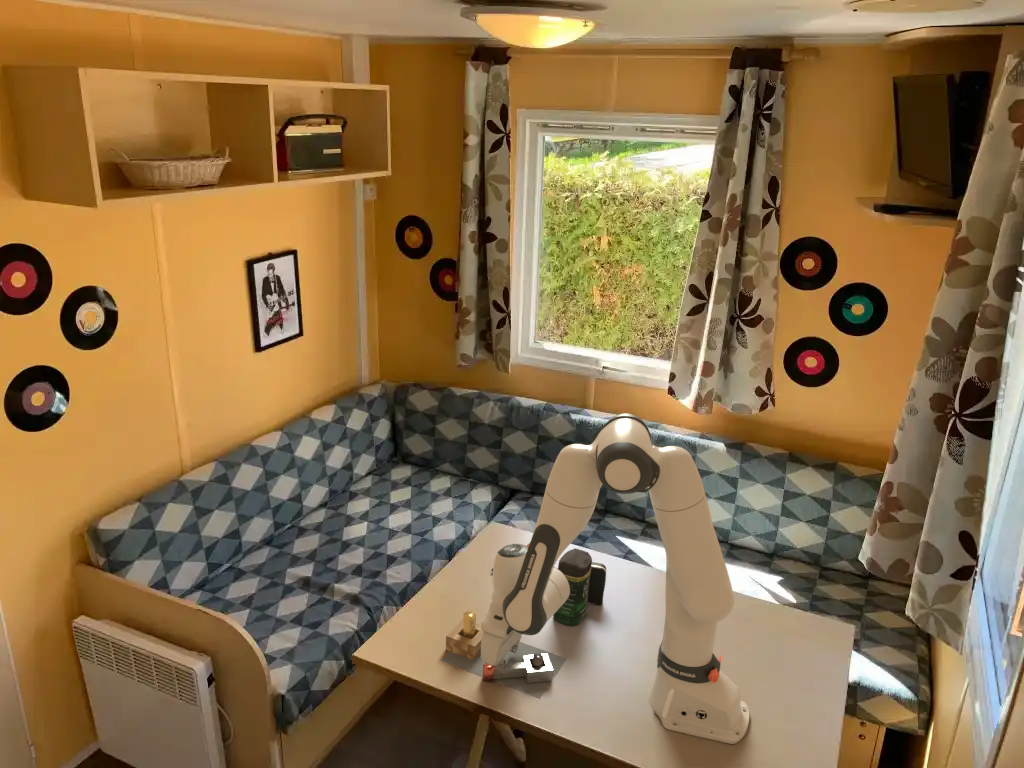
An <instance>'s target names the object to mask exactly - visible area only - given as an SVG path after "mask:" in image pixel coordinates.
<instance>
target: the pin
mask: <svg viewBox="0 0 1024 768" xmlns="http://www.w3.org/2000/svg"><path fill="white" fill-rule="evenodd" d="M476 617H477V614H476V613H475V612H474V611H470V610H469V611H468V610H467V611H465V612H464V613H463V618H462V619H463V636H464V637H467V638H470V639H473V638H474V636H475V624H477V621H476V619H477V618H476Z"/></svg>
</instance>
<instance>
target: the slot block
mask: <svg viewBox="0 0 1024 768" xmlns="http://www.w3.org/2000/svg"><path fill="white" fill-rule="evenodd" d="M482 634H483V630H481V624H478V623H476V624H475V636H474V638H473V639H470V638H467V637H464V636H463V618H462V619H461V620H460V621H458V623H457V624H456V625H455V626H454V627H452V629H451V630H450V631H449V632H448V633H447V634H446V637H445V651H448V652H449V651H450V652H453V653H455V654H458V655H461V656H463V657H466V658H469V659H472V660H474V661H475V659H476V658H477V657H478V656H479V655H480V654H481V638H482Z"/></svg>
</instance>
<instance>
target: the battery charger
mask: <svg viewBox="0 0 1024 768" xmlns="http://www.w3.org/2000/svg"><path fill="white" fill-rule="evenodd" d="M606 583H607V567H606V565H605V564H603V563H599V562H593V561H592V567H591V573H590V580H589V589H588V602H587V604H591V605H599V606H602V605H603V604H604V593H605V590H606V589H605V588H606Z"/></svg>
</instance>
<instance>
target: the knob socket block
mask: <svg viewBox="0 0 1024 768" xmlns="http://www.w3.org/2000/svg"><path fill="white" fill-rule="evenodd" d="M542 655H543V666H542V667H538V668H532V662H533V655H522V662H519V663H507V664H497V665H496V666H492V665H489V664H486V663H485V664H484V665H483V677H482V676H481V677H482V680H483V681H484V682H486V683H491V682H494V681H493V680H494V679H500V678H511V677H522V676H525V678H526V681H527V683H533V682H544V681H551V682H553V680H552V678H553V668H552V665H551V663H550V660H549V657H548V655H547V653H546V654H542Z"/></svg>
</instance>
